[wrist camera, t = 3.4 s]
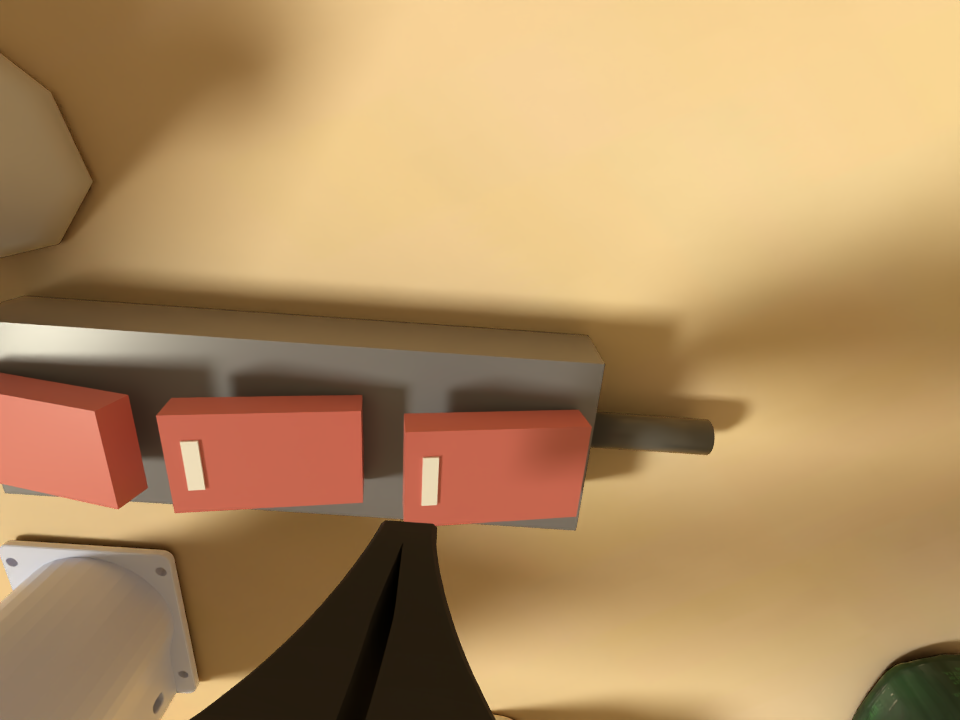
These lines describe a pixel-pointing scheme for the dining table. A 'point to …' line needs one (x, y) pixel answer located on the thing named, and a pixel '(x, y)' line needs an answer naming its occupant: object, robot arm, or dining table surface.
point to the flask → (35, 165)
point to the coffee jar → (916, 691)
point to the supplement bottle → (501, 717)
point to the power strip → (322, 378)
